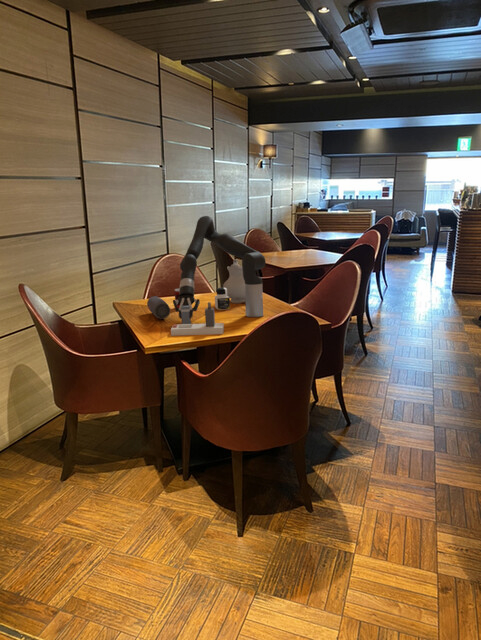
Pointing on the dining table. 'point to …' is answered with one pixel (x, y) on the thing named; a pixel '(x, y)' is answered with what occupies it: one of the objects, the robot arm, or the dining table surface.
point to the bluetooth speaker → (158, 307)
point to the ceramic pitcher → (235, 283)
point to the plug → (185, 314)
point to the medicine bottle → (222, 299)
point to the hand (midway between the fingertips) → (185, 317)
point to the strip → (200, 326)
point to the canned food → (177, 296)
